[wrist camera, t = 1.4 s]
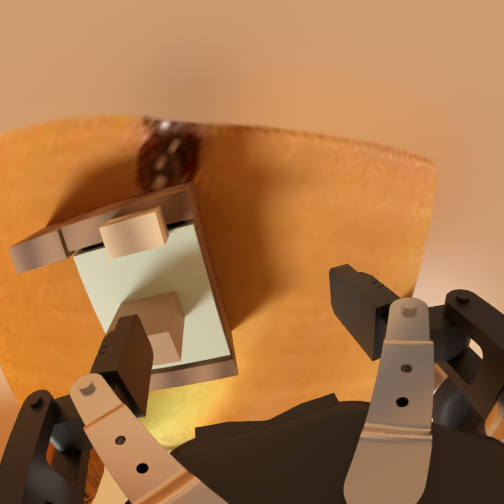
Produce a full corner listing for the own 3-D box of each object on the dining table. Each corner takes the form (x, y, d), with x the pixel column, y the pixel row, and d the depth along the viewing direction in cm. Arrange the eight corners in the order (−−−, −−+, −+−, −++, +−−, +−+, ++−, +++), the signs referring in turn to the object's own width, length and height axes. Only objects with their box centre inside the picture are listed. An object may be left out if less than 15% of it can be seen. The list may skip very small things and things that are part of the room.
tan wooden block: (161, 205, 25) (155, 212, 22) (169, 235, 26) (164, 245, 23) (110, 219, 24) (99, 228, 21) (119, 248, 25) (109, 260, 22)
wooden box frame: (192, 181, 33) (186, 190, 25) (231, 331, 40) (238, 374, 32) (45, 226, 32) (8, 247, 23) (100, 355, 39) (83, 396, 30)
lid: (194, 220, 28) (188, 248, 19) (229, 345, 33) (237, 400, 24) (79, 250, 27) (40, 286, 18) (129, 363, 32) (114, 416, 23)
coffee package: (73, 441, 45) (54, 519, 25) (56, 406, 41) (24, 493, 21) (114, 449, 47) (101, 533, 26) (100, 416, 43) (78, 512, 23)
